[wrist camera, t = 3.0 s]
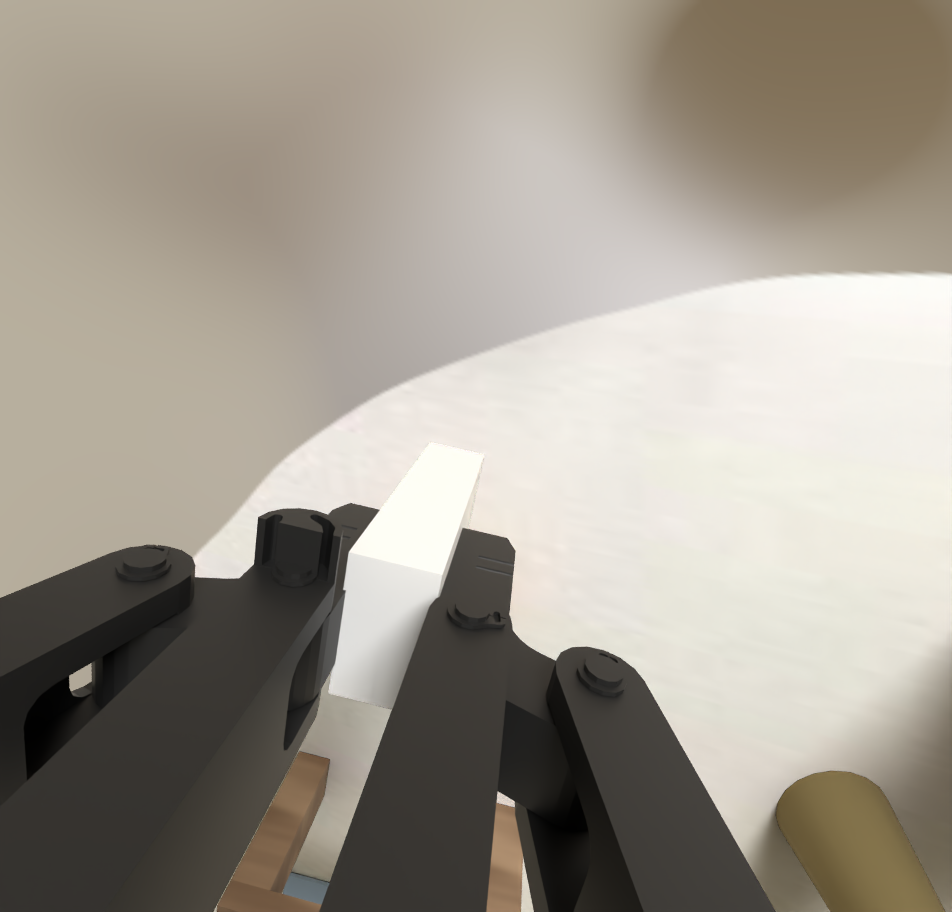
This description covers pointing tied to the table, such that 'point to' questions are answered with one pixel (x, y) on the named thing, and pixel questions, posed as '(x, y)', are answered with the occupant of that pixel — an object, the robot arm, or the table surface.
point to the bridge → (287, 824)
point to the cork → (853, 845)
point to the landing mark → (305, 888)
